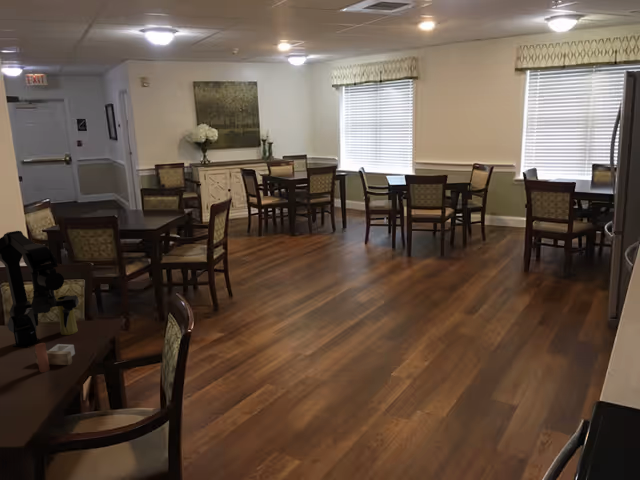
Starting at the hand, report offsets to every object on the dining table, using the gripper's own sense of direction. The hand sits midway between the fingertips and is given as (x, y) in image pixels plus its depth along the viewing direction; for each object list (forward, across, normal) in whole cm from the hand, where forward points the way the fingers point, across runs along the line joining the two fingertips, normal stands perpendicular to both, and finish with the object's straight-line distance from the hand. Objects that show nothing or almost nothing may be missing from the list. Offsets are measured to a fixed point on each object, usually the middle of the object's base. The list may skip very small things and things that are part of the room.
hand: (50, 329), depth 171 cm
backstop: (+12, -1, 0) cm, 12 cm away
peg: (+12, -3, -4) cm, 13 cm away
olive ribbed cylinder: (+12, -1, +27) cm, 30 cm away
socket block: (+12, +1, +4) cm, 13 cm away
